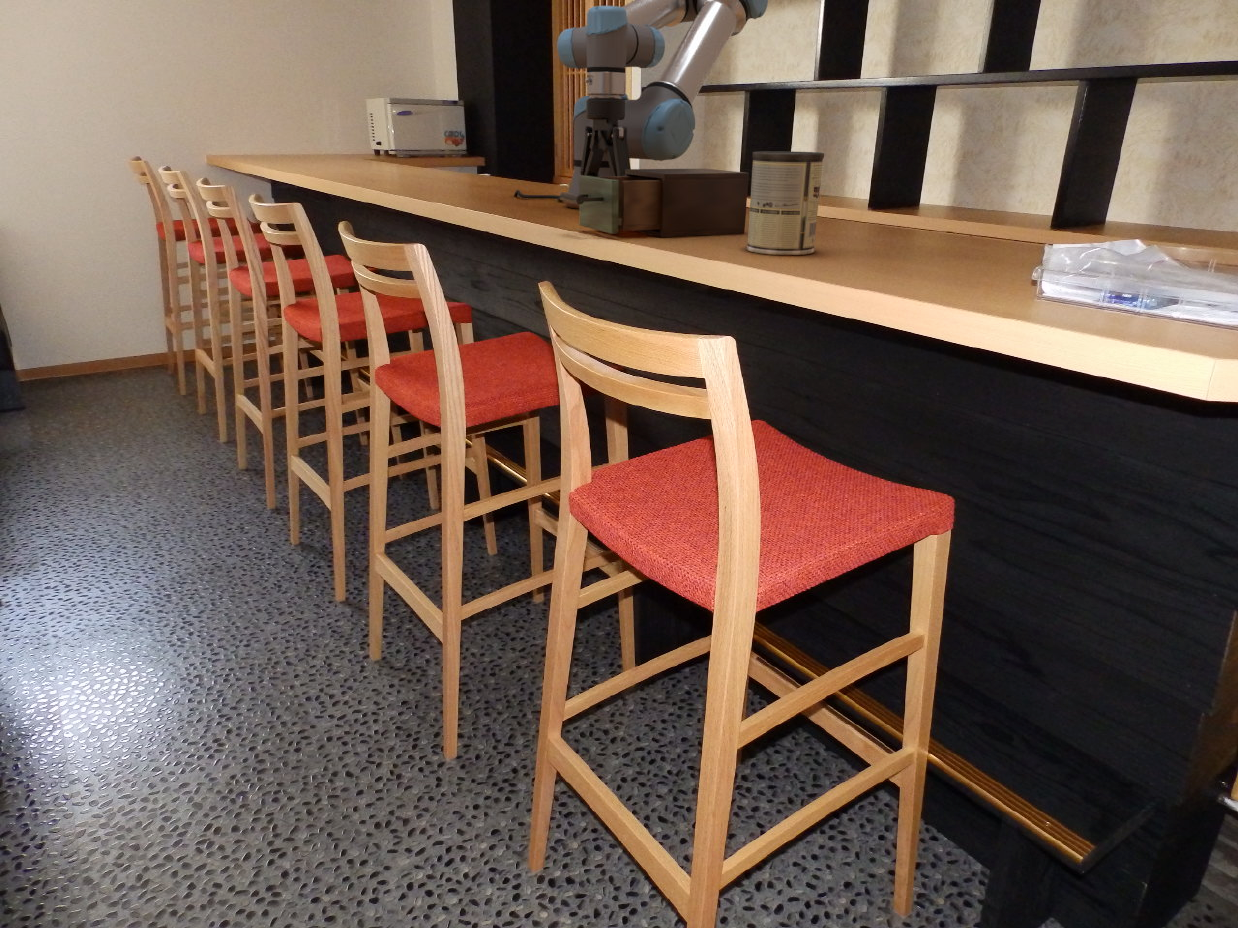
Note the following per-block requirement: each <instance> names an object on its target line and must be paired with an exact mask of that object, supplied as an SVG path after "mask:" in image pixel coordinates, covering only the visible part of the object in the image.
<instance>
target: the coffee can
mask: <svg viewBox="0 0 1238 928" xmlns="http://www.w3.org/2000/svg"><path fill="white" fill-rule="evenodd" d="M824 158H825V152H819V151H818V152H817V151H816V152H815V151H791V150H790V151H788V150H785V151H783V150H779V151H777V150H776V151H775V150H773V151H772V150H770V151H768V150H767V151H766V150H763V151H762V150H761V151H759V150H758V151H752V167H751V168H752V169H751V182H750V183H751V184H750V201H749V215H748V227H747V229H748V231H747V243H746V250H747V251H748V252H751V253H756V254H762V255H771V256H772V255H773V256H806V255H811V254H813V253H814V252H815V243H816V233H817V224H818V223H817V222H818V213H819V212H818V211H819V202H820V191H821V181H822V172H823V161H824Z"/></svg>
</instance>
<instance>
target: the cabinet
mask: <svg viewBox="0 0 1238 928" xmlns="http://www.w3.org/2000/svg"><path fill="white" fill-rule="evenodd" d="M749 174H750V173H749V172H744V171H743V172H742V171H734V170H733V171H732V170H724V169H712V168H631V169H625V176H645V177H652V178H660V179H662V194H661V224H660V229H655V230H633V231H634V232H638V233H641V234H647V235H651V236H654V237H659V238H662V239H664V238H680V237H683V238H684V237H703V236H723V235H744V234H745V233H746V232H745V229H746V219H747V217H746V216H747V205H748V204H747V203H748V190H749V189H748V188H749Z"/></svg>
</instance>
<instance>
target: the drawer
mask: <svg viewBox="0 0 1238 928" xmlns="http://www.w3.org/2000/svg"><path fill="white" fill-rule="evenodd" d="M661 194H662V179H660V178H652V177H645V176H614V177H593V176H586V175H580V176H579V194H571V193H568V192H565V191H563V192H560V194H559V196H560V199H561V200H562V201H561V202H565V203H566V202H571V203H576V204H579V209H578V214H579V215H578V221H579V222H578V225H579V226H581V227H584V228H588V229H591V230H596V231H600V232H603V233H607V234H612V235H615V234H616V235H617V234H619V231H623V232H627V231H628V232H630V231H634V230H655V229H660V224H661Z"/></svg>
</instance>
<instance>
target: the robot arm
mask: <svg viewBox="0 0 1238 928" xmlns="http://www.w3.org/2000/svg"><path fill="white" fill-rule="evenodd" d="M768 4H769V0H632V1H630V2H629V3H627V4H624V5H623V6H616V5H595V6H592V7H590V8H589V9H588V10H587V14H586V25H584V26H581V27H576V26H573V27H571V28H566V29H564V30H562V31H561V32H560V34H559V36H558V38H557V42H556V43H557V44H556V49H557V54H558V58H559V61H560V62H561V64H562V65H563V66H564V67H566V68H568V69H577V70H582V69H586V77H585V79H584V82H585V84H586V95H584V96H581V97H579V98H577V100H576V101H575V103H574V110H573V117H572V123H573V160H574V161H573V173H572V176H571V180H570V183H569V186H568V190H567V193H571V194H579V176H580V175H586V176H593V177H614V176H625V169H632V168H631V160H630V159H633V160H634V159H635V160H651V161H660V162H663V161H671V160H672V161H673V160H675V159H678V158H680V157H682V155H684V154H685V153H686V152H687V151H688V149H689V148H690V146H691V144H692V142H693V140H694V139H693V138H694V135H695V134H694V130H695V129H696V117H695V113H694V105H693V102H694V101H695V99H696V97H697V96H698V94H699V92H700V90H701V89H702V87H703V85H704V84H705V82H706V80H707V78H708V77H709V75H710V73H711V71H712V69H713V68H714V66H715V64H716V62H717V60H718V59H719V57H720V55H721V54H722V52H723V50H724V48H725V47H726V45H727V44H728V42H729V40H730V38H731V37H734V36H737V35H739V33H741V32H742V31H743V29H744V27H745V26H746V24H747V22H748V21H749V20H750V19H753V20H757V19H759V18H760V19H761V18H762V17H763V16H764V15H765V13H766V11H767V8H768ZM690 22H691V25H690V27H689V28H688V30H687V31H686V33H685V35H684V37H683V38H682V40H681V41H680V43H679V45H678V46H677V47H676V50H675V51H674V53H673V55H672V56H671V58H670V60H669V61H668V63H667V64H666V66H665V68H664V70H663V72H662V73H661V75H660V77H659V78H658V80H653V81H651V82H649V83H648V84H646V86H645V88H644V89H643V91H642V92H641V94H640V96H639V97H638V98H636V99H629V96H628V94H627V92H626V89H627V87H626V86H627V71H626V70H627V69H626V68H639V69H651V68H654V67H656V66H658V65H659V64H660V63H661V61H662V59H663V58H664V55H665V51H666V43H665V42H666V41H665V38H664V36H663V34H662V32H661V31H660V29H663V28H664V27H668V28H671V27H675V26H677V25H679V24H681V23H690ZM518 196H519V197H520V198H521V199H527V200H529V199H531V200H534V199H537V200H540V199H541V200H544V199H545V200H549V199H550V200H557V201H558V202H563V201H562V200H561V199H560V195H557V194H555V195H554V194H524V193H522V192H521V191H520V190H519V189H516V190H515V192H514V194H513V197H514V198H517V197H518ZM565 206H566V208H569V209H570V208H571V209H578V210H579V204H576V203H571V202H566V201H565Z"/></svg>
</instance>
